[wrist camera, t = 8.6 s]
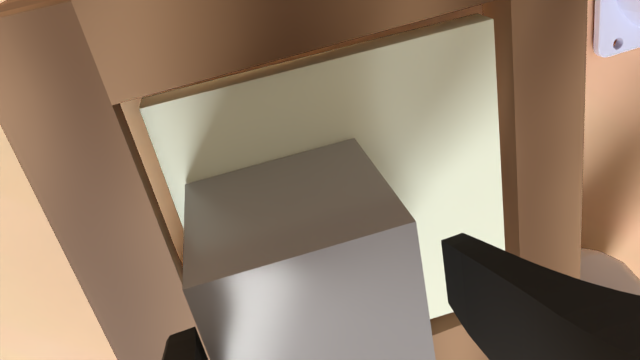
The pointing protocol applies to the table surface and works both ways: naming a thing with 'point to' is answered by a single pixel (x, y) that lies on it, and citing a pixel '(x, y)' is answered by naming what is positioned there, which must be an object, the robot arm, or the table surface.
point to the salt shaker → (607, 272)
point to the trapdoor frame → (237, 54)
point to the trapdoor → (360, 127)
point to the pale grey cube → (305, 262)
